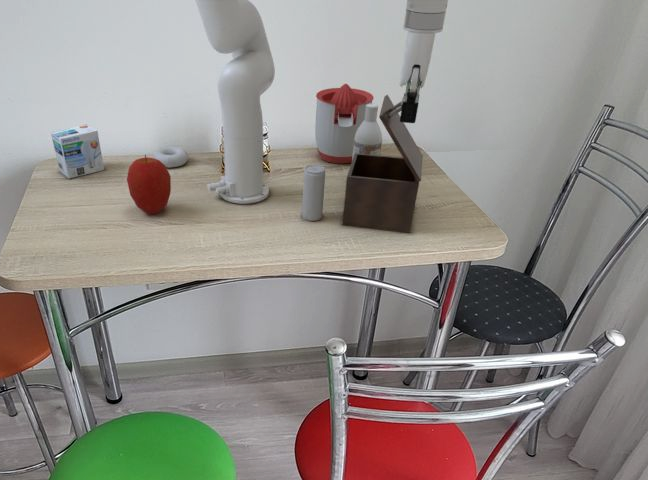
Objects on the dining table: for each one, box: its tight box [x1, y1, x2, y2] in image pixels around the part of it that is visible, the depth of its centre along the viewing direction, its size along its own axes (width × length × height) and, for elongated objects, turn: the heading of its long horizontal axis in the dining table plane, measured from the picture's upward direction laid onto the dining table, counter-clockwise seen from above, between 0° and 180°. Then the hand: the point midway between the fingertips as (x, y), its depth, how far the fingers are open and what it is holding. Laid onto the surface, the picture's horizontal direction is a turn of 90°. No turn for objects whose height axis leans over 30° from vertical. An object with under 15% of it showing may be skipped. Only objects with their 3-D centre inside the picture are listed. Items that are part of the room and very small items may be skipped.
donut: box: [152, 145, 189, 169], centre depth 159 cm, size 10×4×10 cm
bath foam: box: [352, 102, 383, 160], centre depth 143 cm, size 7×7×20 cm
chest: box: [341, 153, 420, 234], centre depth 132 cm, size 16×15×12 cm
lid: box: [378, 94, 424, 183], centre depth 122 cm, size 16×15×5 cm
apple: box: [126, 153, 172, 215], centre depth 132 cm, size 10×10×14 cm
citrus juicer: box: [314, 83, 375, 164], centre depth 157 cm, size 16×17×20 cm
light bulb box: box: [50, 124, 105, 180], centre depth 152 cm, size 11×7×11 cm, turn 129°
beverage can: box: [301, 164, 326, 222], centre depth 131 cm, size 5×5×12 cm
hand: (408, 117), depth 120 cm, fingers closed on lid, 5 cm apart
